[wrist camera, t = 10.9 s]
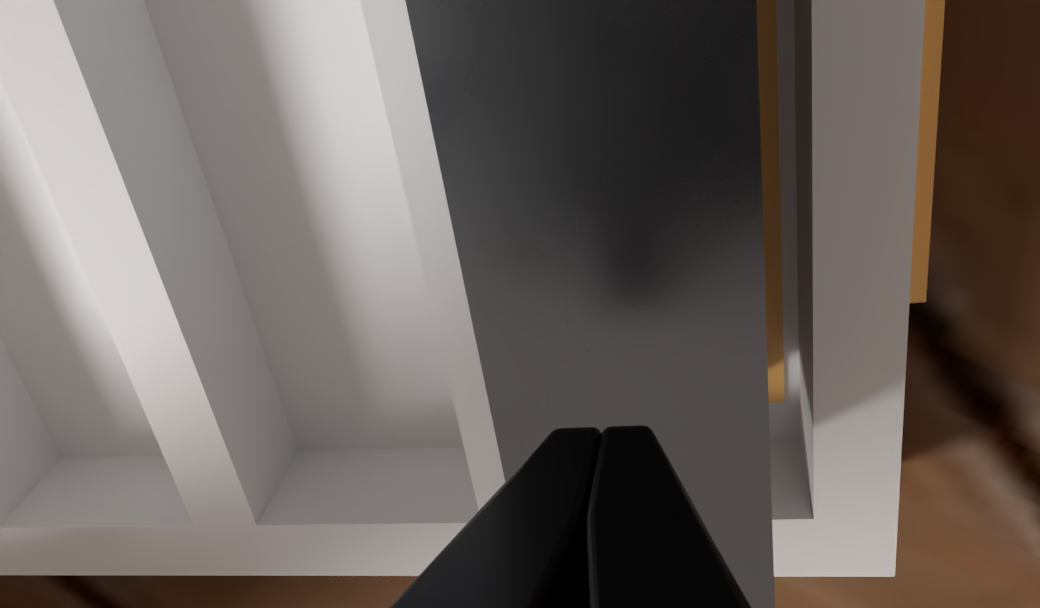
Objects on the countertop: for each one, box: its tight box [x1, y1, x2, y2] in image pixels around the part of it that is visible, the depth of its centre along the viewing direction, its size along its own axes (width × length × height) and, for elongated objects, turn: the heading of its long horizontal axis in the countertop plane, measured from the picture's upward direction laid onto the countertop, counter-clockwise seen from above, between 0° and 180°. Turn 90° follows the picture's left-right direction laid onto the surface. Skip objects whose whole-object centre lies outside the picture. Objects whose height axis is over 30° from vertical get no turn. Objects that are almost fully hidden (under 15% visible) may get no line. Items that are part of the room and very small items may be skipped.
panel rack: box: [0, 0, 945, 577], centre depth 17 cm, size 18×21×3 cm
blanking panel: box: [405, 0, 775, 608], centre depth 13 cm, size 12×3×8 cm, turn 9°
